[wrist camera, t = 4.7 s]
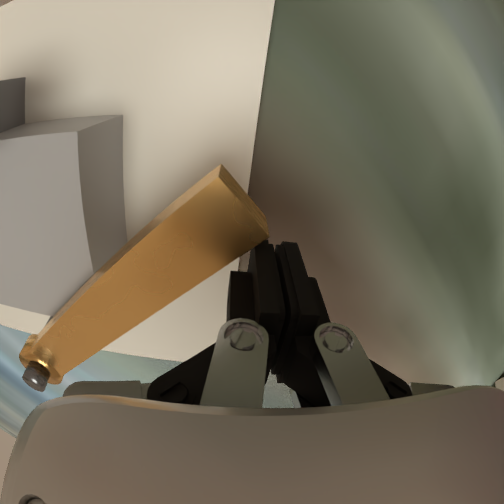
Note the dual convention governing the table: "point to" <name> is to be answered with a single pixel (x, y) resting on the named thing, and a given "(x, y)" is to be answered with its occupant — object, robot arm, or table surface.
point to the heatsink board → (119, 145)
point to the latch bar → (148, 274)
